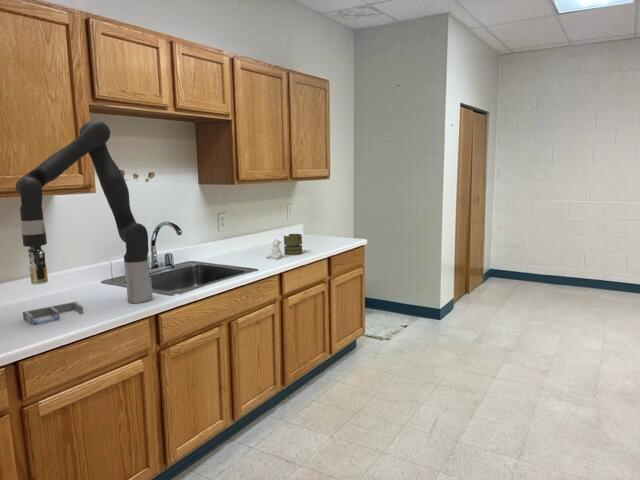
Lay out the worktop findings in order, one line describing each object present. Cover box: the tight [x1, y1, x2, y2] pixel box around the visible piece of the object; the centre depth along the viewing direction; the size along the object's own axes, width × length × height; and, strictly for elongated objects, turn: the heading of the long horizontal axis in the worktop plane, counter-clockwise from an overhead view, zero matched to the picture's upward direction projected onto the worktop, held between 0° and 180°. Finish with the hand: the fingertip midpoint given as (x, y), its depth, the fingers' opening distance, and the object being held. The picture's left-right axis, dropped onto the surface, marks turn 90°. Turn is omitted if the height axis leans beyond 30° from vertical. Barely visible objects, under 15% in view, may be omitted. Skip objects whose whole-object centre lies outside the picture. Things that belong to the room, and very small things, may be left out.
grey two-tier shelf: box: [22, 301, 84, 326], centre depth 184 cm, size 19×10×3 cm, turn 133°
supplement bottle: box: [28, 258, 49, 286], centre depth 177 cm, size 5×5×10 cm
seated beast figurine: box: [265, 238, 283, 261], centre depth 289 cm, size 10×9×12 cm
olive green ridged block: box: [283, 233, 303, 256], centre depth 303 cm, size 11×12×11 cm
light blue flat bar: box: [32, 315, 60, 326], centre depth 178 cm, size 8×1×2 cm, turn 133°
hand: (39, 277), depth 177 cm, fingers closed on supplement bottle, 5 cm apart
